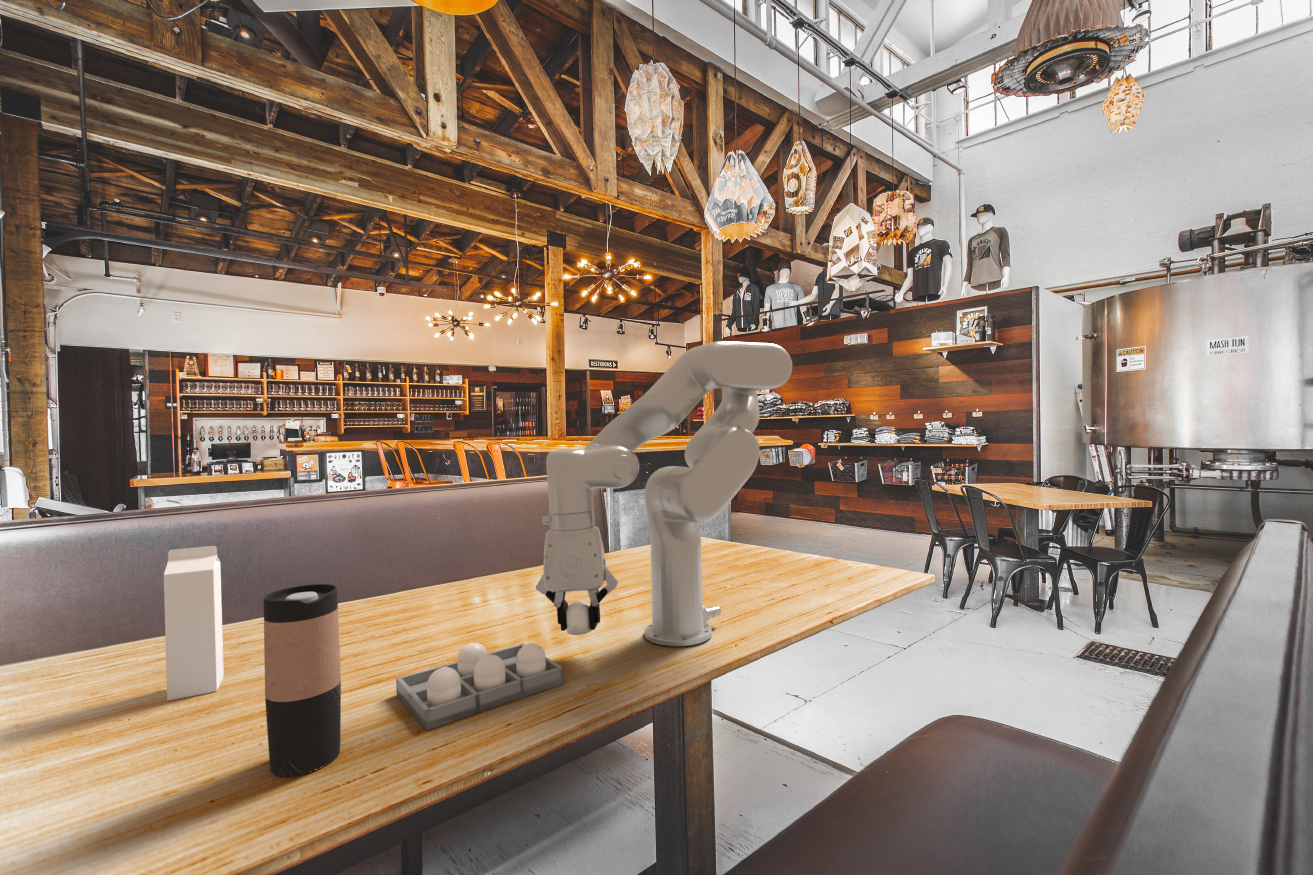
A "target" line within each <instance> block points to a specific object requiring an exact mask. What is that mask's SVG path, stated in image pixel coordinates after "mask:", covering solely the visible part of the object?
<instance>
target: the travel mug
mask: <svg viewBox="0 0 1313 875" xmlns="http://www.w3.org/2000/svg"><path fill="white" fill-rule="evenodd" d="M338 595H339V594H338V587H337V586H336V585H334V584H329V583H327V584H326V583H316V584H303V585H298V586H291V587H287V588H282V589H280V590H279V589H278V590H275V591H273V592H270V593H267V595H264V597H263V640H264V641H263V643H264V644H263V645H264V646H263V647H264V648H263V649H264V651H263V653H264V654H263V655H264V657H263V658H264V695H265V697H264V700H265V714H266V728H267V729H266V731H267V743H268V744H267V745H268V758H269V759H268V760H269V767H270V772H271V774H272V773H273V774H272V775H274V776H275V775H276V777H279V776H280V778H293V776H294V777H299V776H298V775H300V776H302V775H301V774H304V775H306V774H305V773H308V772H310V771H314V770H315V769H318V768H320V767H322V766H325V765H326V764H328V765H330V764H331V763H332V762H334V761H335V760H336V759H337V758H338V757H339V755H340V752H341V733H342V732H341V725H342V724H341V723H342V722H341V721H342V720H341V719H342V718H341V717H342V716H341V714H342V711H341V710H342V708H341V706H342V703H341V702H342V682H341V679H342V676H341V674H342V673H341V650H340V648H341V646H340V626H339V625H340V624H339V623H340V622H339V597H338ZM329 763H330V764H329ZM326 766H327V765H326ZM326 766H325V767H326ZM314 772H315V771H314ZM308 774H309V773H308Z"/></svg>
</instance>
